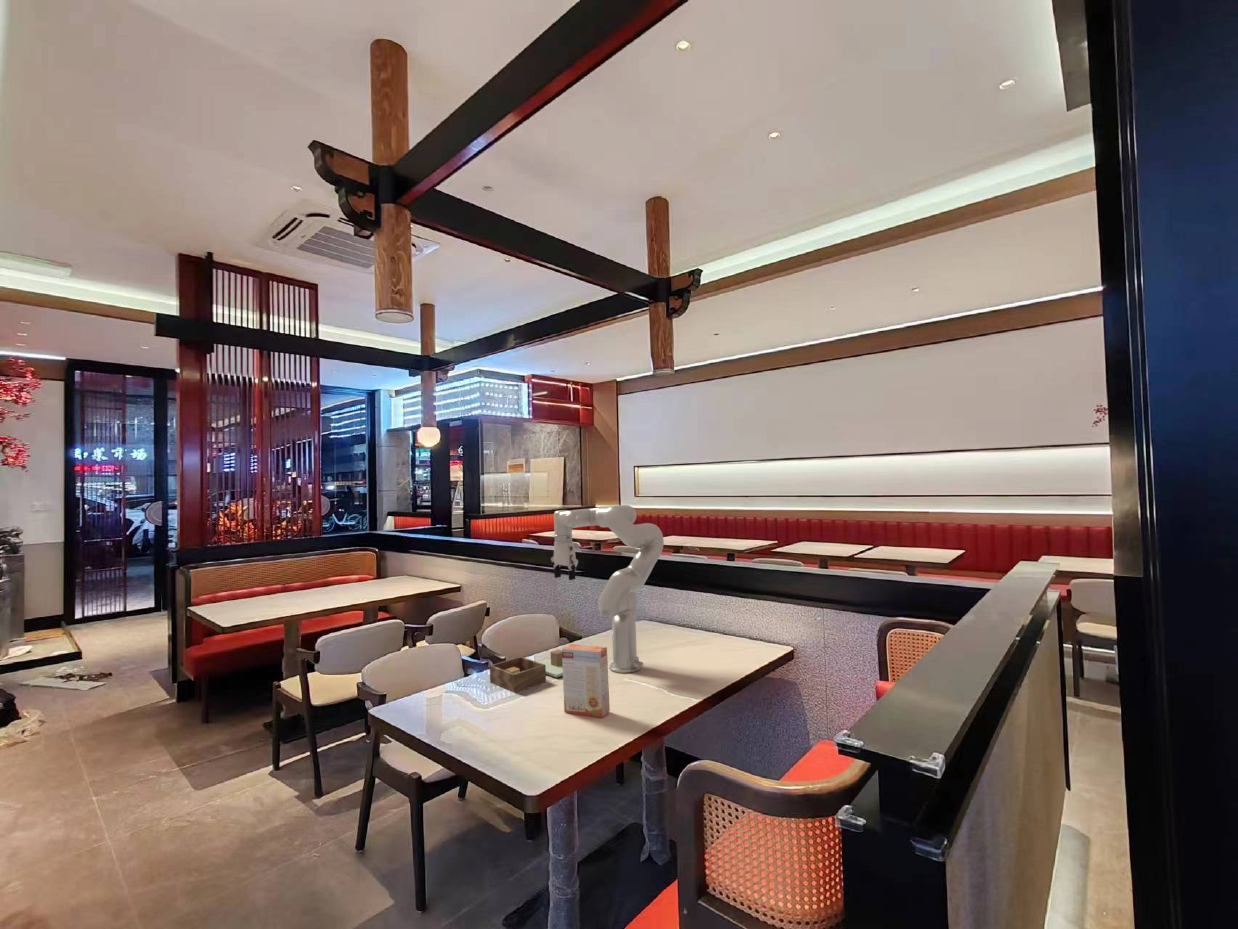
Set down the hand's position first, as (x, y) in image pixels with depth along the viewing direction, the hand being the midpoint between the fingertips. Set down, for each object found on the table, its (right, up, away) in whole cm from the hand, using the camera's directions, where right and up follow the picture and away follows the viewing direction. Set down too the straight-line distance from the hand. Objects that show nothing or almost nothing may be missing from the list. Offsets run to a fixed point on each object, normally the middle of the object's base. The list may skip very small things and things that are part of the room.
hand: (564, 578), depth 239 cm
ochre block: (-17, -32, -30) cm, 47 cm away
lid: (-1, -31, -19) cm, 37 cm away
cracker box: (+13, -31, -60) cm, 69 cm away
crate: (-14, -33, -32) cm, 48 cm away
